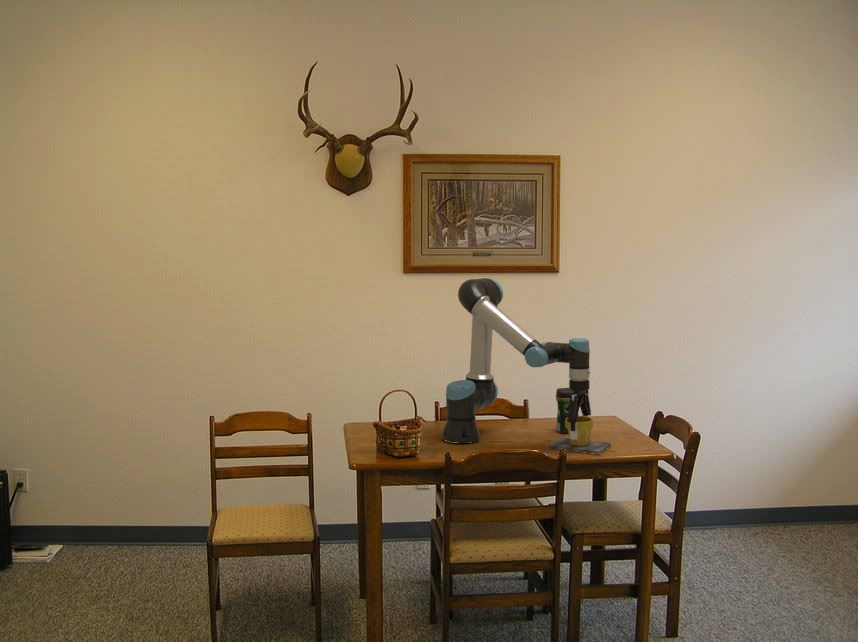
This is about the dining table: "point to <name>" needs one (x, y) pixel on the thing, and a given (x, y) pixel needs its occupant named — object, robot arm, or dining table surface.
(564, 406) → the coffee jar
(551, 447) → the trivet board
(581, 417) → the plant pot
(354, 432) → the dining table surface
